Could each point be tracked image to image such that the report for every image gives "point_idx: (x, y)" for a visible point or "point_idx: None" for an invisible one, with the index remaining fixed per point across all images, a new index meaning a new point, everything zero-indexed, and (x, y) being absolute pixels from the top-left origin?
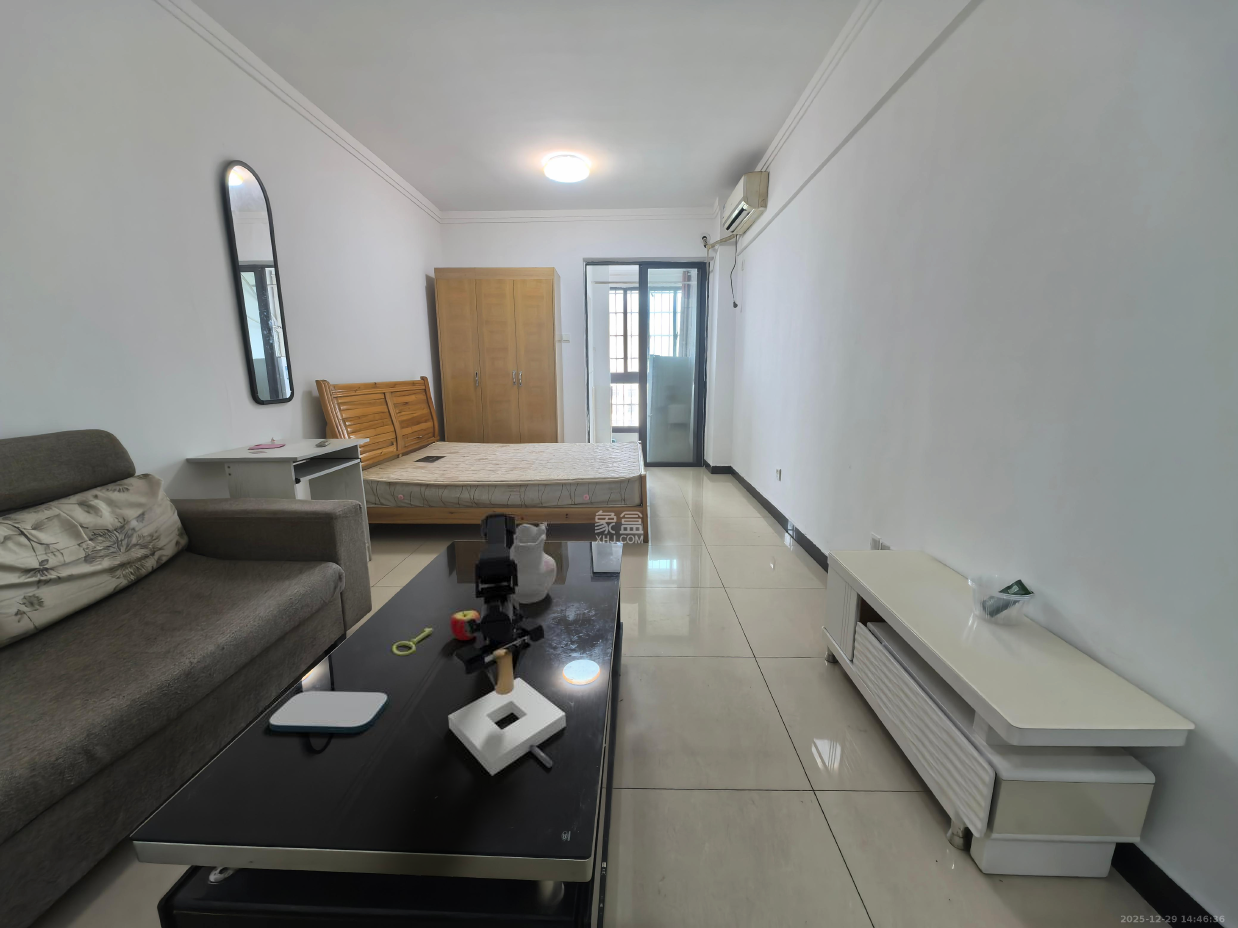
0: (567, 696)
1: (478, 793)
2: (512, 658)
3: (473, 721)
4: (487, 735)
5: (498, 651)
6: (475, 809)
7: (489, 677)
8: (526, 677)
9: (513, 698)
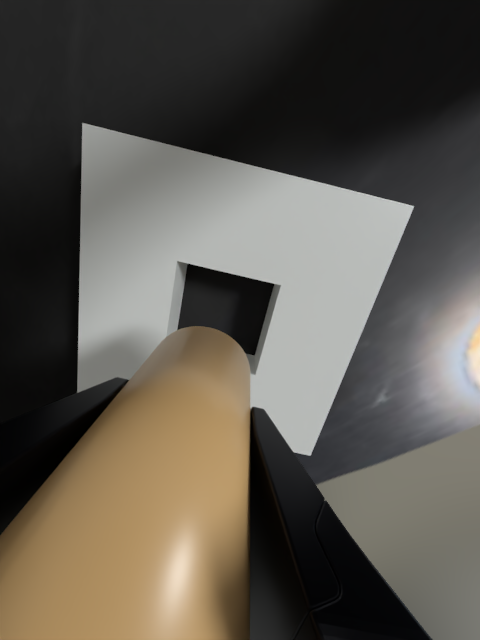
0: (404, 372)
1: (56, 390)
2: (262, 580)
3: (131, 246)
4: (124, 334)
5: None
6: (34, 409)
7: (65, 399)
8: (454, 184)
9: (292, 284)
